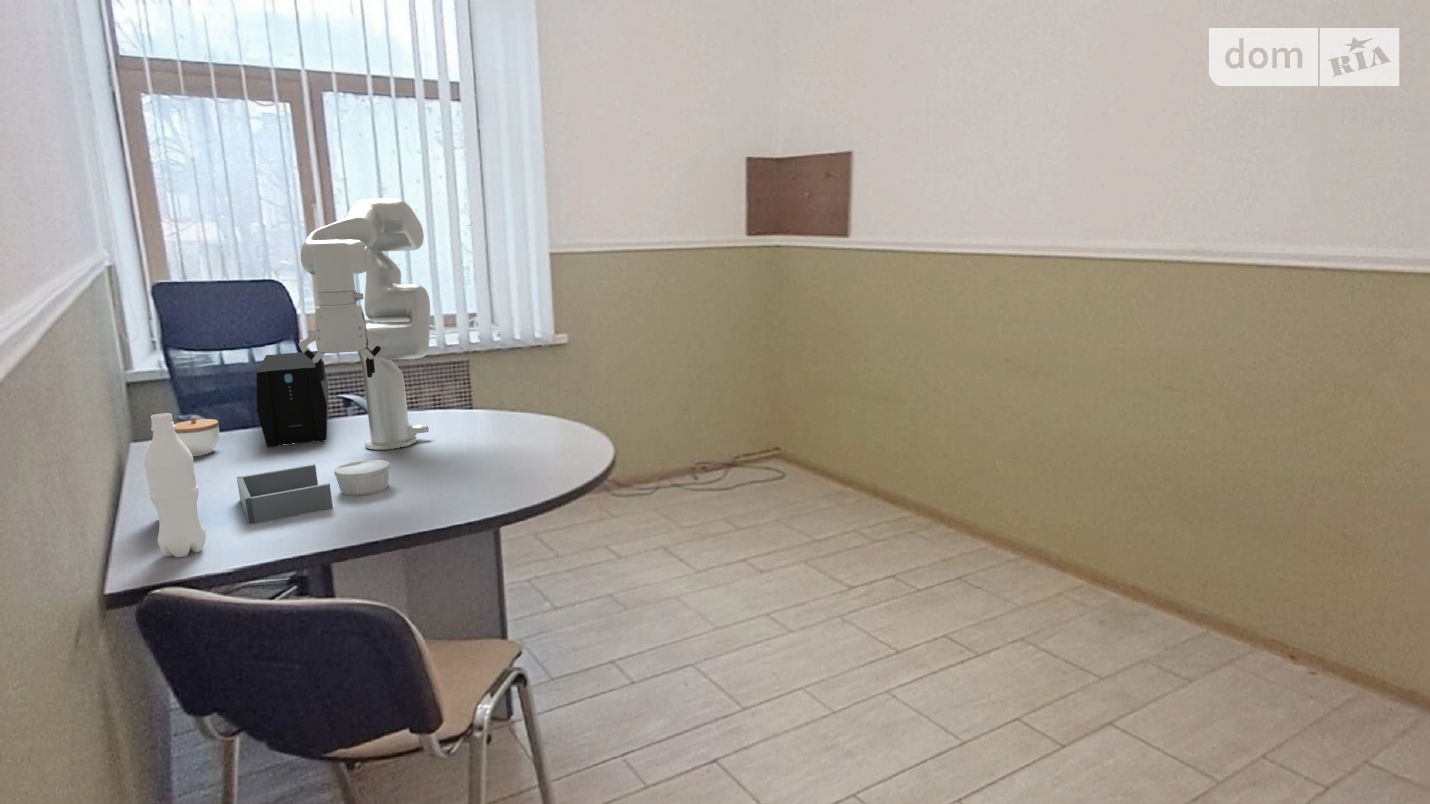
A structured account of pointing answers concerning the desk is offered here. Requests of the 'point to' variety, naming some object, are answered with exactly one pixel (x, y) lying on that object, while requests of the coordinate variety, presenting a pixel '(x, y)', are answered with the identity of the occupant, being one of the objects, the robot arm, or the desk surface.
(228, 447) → the desk surface
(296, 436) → the uninterruptible power supply
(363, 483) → the ramekin
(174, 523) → the water bottle
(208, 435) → the lidded jar
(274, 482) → the box
